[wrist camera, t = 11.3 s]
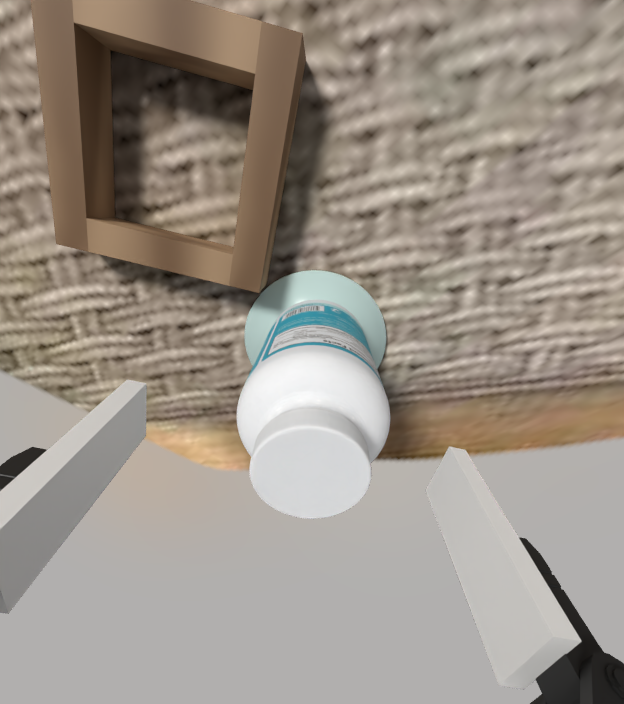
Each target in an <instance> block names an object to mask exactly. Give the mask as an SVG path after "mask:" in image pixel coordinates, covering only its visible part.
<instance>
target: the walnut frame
mask: <svg viewBox="0 0 624 704" xmlns="http://www.w3.org/2000/svg"><path fill="white" fill-rule="evenodd" d="M31 8H32V18H33V27H34V37H35V46H36V56H37V65H38V75H39V84H40V94H41V103H42V113H43V122H44V132H45V141H46V151H47V160H48V170H49V179H50V189H51V198H52V208H53V217H54V227H55V236H56V244H59V245H63V246H67V247H71V248H75V249H79V250H84V251H88V252H92V253H96V254H100V255H104V256H108V257H112V258H117V259H121V260H125V261H129V262H133V263H137V264H141V265H145V266H150V267H154V268H158V269H162V270H166V271H170V272H174V273H178V274H183V275H187V276H191V277H195V278H199V279H203V280H207V281H211V282H216V283H220V284H224V285H228V286H232V287H236V288H240V289H244V290H249V291H253V292H257V293H260V291H261V290H262V289H263V288H264V287H265V286H266V284H267V280H268V274H269V268H270V262H271V257H272V251H273V245H274V240H275V234H276V228H277V222H278V217H279V211H280V205H281V200H282V194H283V188H284V182H285V177H286V171H287V165H288V160H289V154H290V148H291V142H292V137H293V131H294V125H295V120H296V114H297V108H298V102H299V97H300V91H301V85H302V80H303V74H304V68H305V62H306V56H305V49H304V41H303V34H302V33H300V32H296V31H293V30H289V29H286V28H283V27H279V26H276V25H272V24H269V23H266V22H262V21H259V20H255V19H252V18H249V17H245V16H242V15H238V14H235V13H232V12H228V11H225V10H221V9H218V8H215V7H211V6H208V5H204V4H201V3H198V2H194V1H191V0H31ZM110 50H112V51H115V52H119V53H122V54H126V55H129V56H133V57H137V58H140V59H144V60H147V61H151V62H154V63H158V64H162V65H165V66H169V67H172V68H176V69H179V70H183V71H187V72H190V73H194V74H197V75H201V76H204V77H208V78H211V79H215V80H219V81H222V82H226V83H229V84H233V85H236V86H240V87H244V88H247V89H251V90H253V96H252V104H251V112H250V120H249V128H248V136H247V144H246V152H245V160H244V168H243V176H242V184H241V192H240V200H239V208H238V216H237V225H236V233H235V241H234V247H231V246H227V245H223V244H219V243H215V242H211V241H207V240H203V239H199V238H195V237H191V236H187V235H183V234H179V233H175V232H171V231H167V230H163V229H159V228H155V227H151V226H147V225H143V224H139V223H135V222H131V221H127V220H123V219H119V218H115V193H114V158H113V122H112V87H111V52H110Z"/></svg>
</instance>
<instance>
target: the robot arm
mask: <svg viewBox="0 0 624 704" xmlns="http://www.w3.org/2000/svg"><path fill="white" fill-rule="evenodd" d="M145 436H146V383H141V382H137V381H132V380H126V381H125V382H124V383H123V384H122V385H121V386H119V387H118V388H117V389H116V390H115V391H114V392H113V393H111V394H110V395H109V396H108V397H107V398H106V399H105V400H103V401H102V402H101V403H100V404H99V405H98V406H97V407H95V408H94V409H93V410H92V411H91V412H90V413H89V414H88V415H86V416H85V417H84V418H83V419H82V420H81V421H80V422H78V423H77V424H76V425H75V426H74V427H73V428H72V429H70V430H69V431H68V432H67V433H66V434H65V435H64V436H62V437H61V438H60V439H59V440H58V441H57V442H56V443H55V444H53V445H52V446H51V447H50V448H49V449H48V450H45V449H40V448H35V447H31V448H29V449H28V450H25V451H23V452H22V453H19V454H17V455H15V456H13V457H11V458H10V459H9V460H7V461H6V462H5V463H3V464H2V465H1V466H0V613H8V614H9V612H10V611H11V610H12V608H13V607H14V606H15V605H16V603H17V602H18V601H19V599H20V598H21V597H22V596H23V594H24V593H25V592H26V590H27V589H28V588H29V586H30V585H31V584H32V582H33V581H34V580H35V579H36V577H37V576H38V575H39V573H40V572H41V571H42V569H43V568H44V567H45V566H46V564H47V563H48V562H49V560H50V559H51V558H52V557H53V555H54V554H55V553H56V551H57V550H58V549H59V547H60V546H61V545H62V544H63V542H64V541H65V540H66V539H67V537H68V536H69V535H70V533H71V532H72V531H73V529H74V528H75V527H76V525H77V524H78V523H79V522H80V520H81V519H82V518H83V517H84V515H85V514H86V513H87V511H88V510H89V509H90V507H91V506H92V505H93V503H94V502H95V501H96V500H97V498H98V497H99V496H100V494H101V493H102V492H103V491H104V489H105V488H106V487H107V485H108V484H109V483H110V482H111V480H112V479H113V478H114V476H115V475H116V474H117V472H118V471H119V470H120V469H121V467H122V466H123V465H124V463H125V462H126V461H127V460H128V458H129V457H130V456H131V454H132V453H133V451H134V450H135V449H136V448H137V447H138V445H139V444H140V443H141V441H142V440H143V439H144V438H145ZM425 491H426V494H427V496H428V499H429V502H430V504H431V507H432V509H433V512H434V515H435V518H436V520H437V523H438V525H439V528H440V531H441V533H442V536H443V539H444V541H445V544H446V547H447V549H448V552H449V555H450V557H451V560H452V563H453V565H454V568H455V570H456V573H457V576H458V578H459V581H460V584H461V586H462V589H463V592H464V594H465V597H466V600H467V602H468V605H469V608H470V610H471V613H472V616H473V618H474V621H475V624H476V626H477V629H478V632H479V634H480V637H481V639H482V642H483V645H484V648H485V650H486V653H487V655H488V658H489V661H490V664H491V666H492V669H493V671H494V674H495V677H496V680H497V682H498V685H499V686H503V687H509V688H516V689H523V690H524V689H525V688H526V687H528V686H529V685H530V684H531V683H533V682H534V681H535V680H536V681H537V683H538V685H539V687H540V690H541V692H542V695H540V696H539V697H538V698H536V699H535V700H534V701H533V702H531V703H530V704H624V664H623V663H622V662H621V661H619V660H618V659H616V658H614V657H613V656H611V655H610V654H606V653H604V652H603V651H602V649H601V647H600V646H599V645H598V643H597V642H596V640H595V639H594V637H593V635H592V634H591V632H590V631H589V629H588V627H587V626H586V624H585V623H584V621H583V620H582V618H581V617H580V615H579V614H578V612H577V610H576V609H575V607H574V606H573V604H572V603H571V601H570V599H569V598H568V596H567V595H566V593H565V592H564V590H562V589H561V586H560V584H559V582H558V581H557V579H556V578H555V576H554V575H552V573H551V570H550V568H549V567H548V565H547V564H546V562H545V560H544V559H543V557H542V556H541V555H540V553H539V552H538V551H537V550H536V549H535V548H534V547H533V546H532V545H531V544H530V543H529V542H528V540H527V539H525V538H519V537H518V536H517V534H516V532H515V531H514V529H513V527H512V526H511V524H510V522H509V521H508V519H507V517H506V516H505V514H504V512H503V511H502V509H501V508H500V506H499V504H498V503H497V501H496V499H495V498H494V496H493V495H492V493H491V491H490V490H489V488H488V486H487V484H486V483H485V481H484V480H483V478H482V476H481V475H480V473H479V472H478V470H477V468H476V467H475V465H474V463H473V462H472V460H471V458H470V457H469V455H468V453H467V452H466V450H463V449H458V448H454V447H449V448H448V450H447V452H446V453H445V455H444V457H443V459H442V461H441V463H440V464H439V466H438V468H437V470H436V472H435V473H434V475H433V477H432V479H431V481H430V483H429V484H428V486H427V488H426V490H425Z"/></svg>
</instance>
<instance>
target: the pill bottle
mask: <svg viewBox="0 0 624 704" xmlns="http://www.w3.org/2000/svg"><path fill="white" fill-rule="evenodd" d="M237 426H238V431H239V435H240V438H241V440H242V442H243V444H244V446H245V448H246V450H247V451H248V453H249V454H250V456H251V462H250V479H251V482H252V485H253V487H254V489H255V491H256V493H257V494H258V495H259V496H260V497H261V499H262V500H263V501H264V502H266V503H267V504H268V505H270V506H271V507H272V508H274V509H276V510H277V511H280V512H282V513H284V514H287V515H290V516H294V517H299V518H307V519H316V518H326V517H330V516H334V515H337V514H340V513H342V512H345V511H347V510H348V509H350V508H351V507H353V506H354V505H356V504H357V503H358V502H359V501H360V500H361V499H362V497H363V496H364V495H365V493H366V491H367V489H368V488H369V485H370V481H371V474H372V473H371V463H372V462H373V461H374V459H375V458H376V457H377V456H378V454H379V453H380V451H381V450H382V448H383V446H384V444H385V442H386V439H387V436H388V433H389V427H390V408H389V403H388V399H387V396H386V393H385V390H384V387H383V384H382V382H381V379H380V376H379V373H378V371H377V368H376V365H375V362H374V359H373V357H372V354H371V351H370V348H369V345H368V342H367V340H366V337H365V334H364V332H363V329H362V327H361V325H360V323H359V322H358V320H357V319H356V318H355V316H354V315H353V314H352V313H351V312H349V311H348V310H347V309H346V308H344V307H342V306H341V305H339V304H336V303H334V302H331V301H326V300H317V299H315V300H307V301H302V302H299V303H297V304H294V305H292V306H291V307H289V308H287V309H286V310H285V311H284V312H283V313H281V314H280V316H279V317H278V318H277V319H276V321H275V322H274V324H273V325H272V327H271V329H270V331H269V334H268V336H267V338H266V340H265V342H264V345H263V347H262V349H261V351H260V353H259V355H258V357H257V360H256V362H255V364H254V366H253V368H252V370H251V372H250V374H249V376H248V378H247V380H246V382H245V385H244V387H243V390H242V392H241V395H240V398H239V401H238V407H237Z"/></svg>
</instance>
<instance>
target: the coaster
mask: <svg viewBox="0 0 624 704" xmlns="http://www.w3.org/2000/svg"><path fill="white" fill-rule="evenodd" d="M315 299H317V300H326V301H331V302H334V303H336V304H339V305H341V306H342V307H344V308H346V309H347V310H348V311H349V312H351V313H352V314H353V315H354V316H355V318H356V319H357V320H358V322H359V323H360V325H361V327H362V329H363V332H364V334H365V337H366V340H367V342H368V345H369V348H370V351H371V354H372V357H373V359H374V362H375V365H376V368H377V369H378V367H379V365H380V363H381V361H382V359H383V355H384V352H385V346H386V329H385V323H384V320H383V316H382V314H381V312H380V310H379V307H378V306H377V304H376V303H375V301H374V299H373V298H372V297H371V296H370V294H369V293H368V292H367V291H366V290H365V289H364V288H363V287H361V286H360V285H359V284H357V283H356V282H354V281H353V280H351V279H349V278H347V277H345V276H343V275H340V274H337V273H334V272H330V271H324V270H306V271H300V272H295V273H292V274H289V275H287V276H284V277H282V278H280V279H278V280H277V281H275V282H274V283H272V284H271V285H270V286H268V287H267V288H266V289H265V290H264V291H263V292H262V293H261V294H260V296H259V297H258V298H257V300H256V301H255V302H254V304H253V306H252V308H251V309H250V312H249V315H248V317H247V321H246V325H245V346H246V351H247V354H248V357H249V360H250V362H251V364H252V366H254V364H255V362H256V360H257V357H258V355H259V353H260V351H261V349H262V347H263V345H264V342H265V340H266V338H267V336H268V334H269V331H270V329H271V327H272V325H273V324H274V322H275V321H276V319H277V318H278V317H279V316H280V314H281V313H283V312H284V311H285V310H286V309H287V308H289V307H291V306H292V305H294V304H297V303H299V302H302V301H307V300H315Z"/></svg>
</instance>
